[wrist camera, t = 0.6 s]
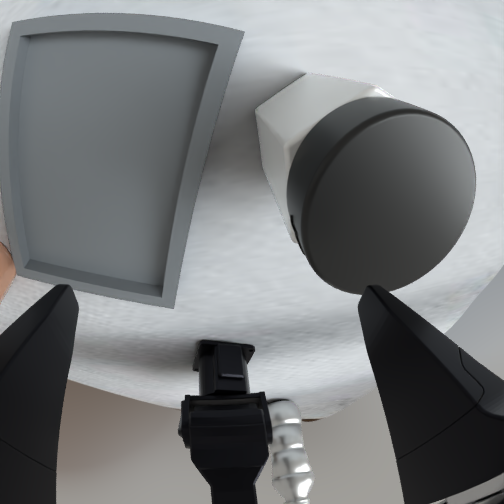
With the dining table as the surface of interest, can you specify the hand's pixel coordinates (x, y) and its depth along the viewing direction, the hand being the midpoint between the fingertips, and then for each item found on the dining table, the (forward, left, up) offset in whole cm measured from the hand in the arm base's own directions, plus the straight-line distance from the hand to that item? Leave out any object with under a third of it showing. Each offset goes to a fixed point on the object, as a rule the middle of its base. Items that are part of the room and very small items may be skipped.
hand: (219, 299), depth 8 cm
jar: (+3, -6, -14) cm, 16 cm away
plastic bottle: (-38, -19, -14) cm, 45 cm away
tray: (-3, +9, -14) cm, 17 cm away
